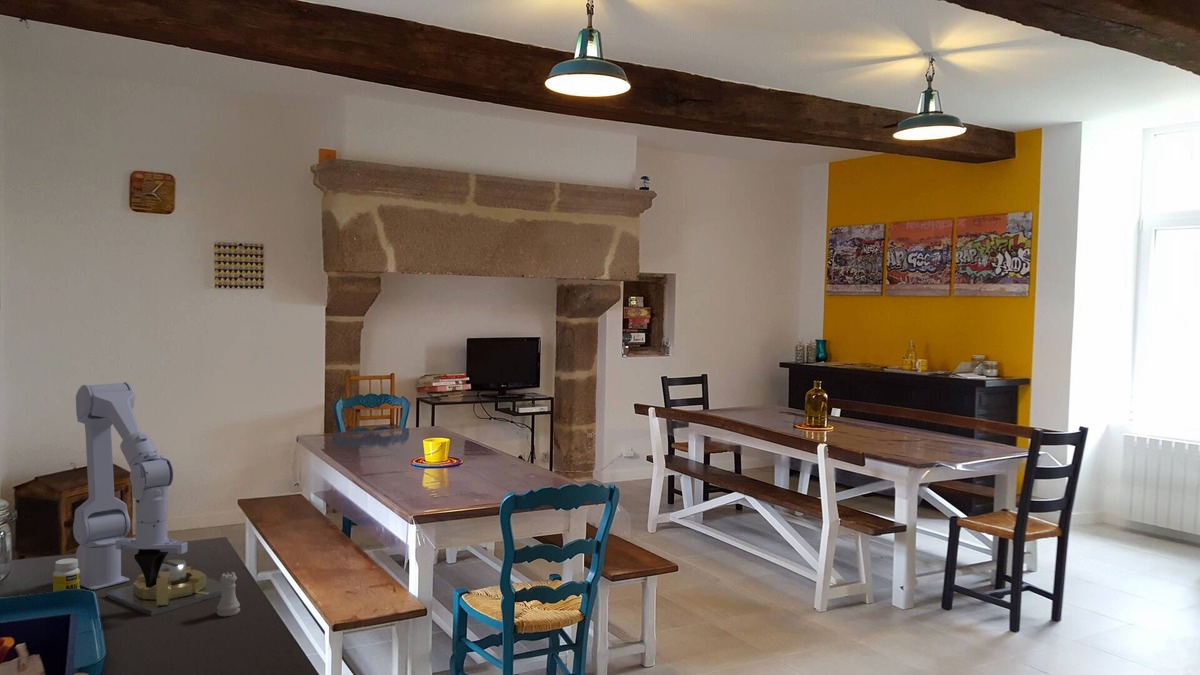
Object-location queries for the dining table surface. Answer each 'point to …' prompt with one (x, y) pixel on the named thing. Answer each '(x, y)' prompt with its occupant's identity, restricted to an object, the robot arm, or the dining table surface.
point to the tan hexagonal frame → (164, 588)
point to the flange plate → (172, 604)
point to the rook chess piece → (228, 596)
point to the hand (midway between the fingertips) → (151, 586)
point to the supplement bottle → (66, 574)
